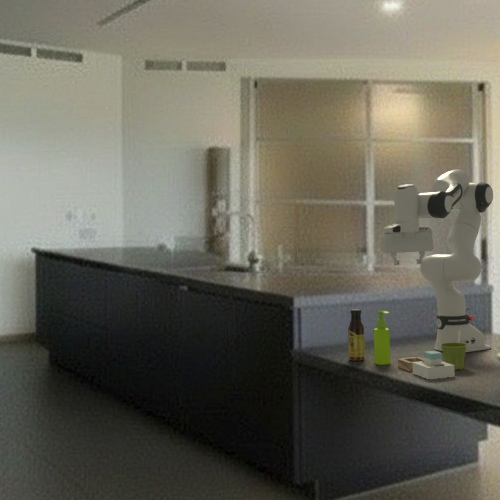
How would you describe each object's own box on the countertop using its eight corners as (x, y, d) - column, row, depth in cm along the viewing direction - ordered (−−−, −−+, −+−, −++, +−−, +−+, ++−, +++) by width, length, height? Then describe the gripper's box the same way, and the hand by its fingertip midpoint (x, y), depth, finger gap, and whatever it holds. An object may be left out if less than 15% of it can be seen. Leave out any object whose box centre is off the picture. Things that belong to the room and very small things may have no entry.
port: (438, 371, 268) (437, 358, 267) (454, 376, 257) (454, 363, 257) (412, 373, 265) (412, 360, 265) (428, 379, 254) (427, 366, 254)
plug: (435, 373, 264) (434, 350, 264) (442, 376, 259) (441, 353, 259) (424, 374, 263) (423, 351, 263) (431, 377, 258) (431, 354, 258)
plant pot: (463, 372, 265) (463, 347, 264) (437, 370, 270) (436, 345, 269) (471, 367, 273) (470, 343, 272) (445, 365, 278) (444, 341, 277)
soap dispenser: (382, 365, 281) (381, 312, 280) (371, 363, 287) (369, 310, 286) (395, 363, 284) (393, 310, 283) (384, 361, 290) (382, 309, 289)
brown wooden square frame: (418, 364, 280) (418, 356, 280) (431, 369, 271) (431, 361, 271) (397, 366, 278) (397, 358, 278) (409, 371, 269) (409, 363, 269)
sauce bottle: (347, 359, 297) (345, 308, 297) (362, 358, 298) (361, 307, 297) (350, 362, 291) (349, 310, 290) (366, 361, 291) (365, 309, 291)
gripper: (427, 226, 289) (429, 262, 290) (378, 228, 284) (379, 265, 284) (436, 226, 283) (437, 263, 283) (386, 228, 278) (387, 266, 278)
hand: (408, 264), depth 284 cm, fingers open, 8 cm apart
